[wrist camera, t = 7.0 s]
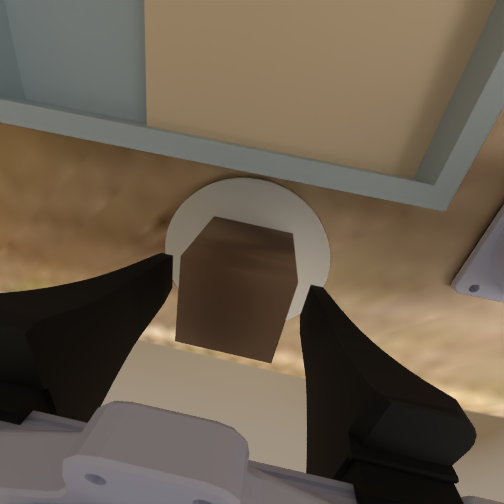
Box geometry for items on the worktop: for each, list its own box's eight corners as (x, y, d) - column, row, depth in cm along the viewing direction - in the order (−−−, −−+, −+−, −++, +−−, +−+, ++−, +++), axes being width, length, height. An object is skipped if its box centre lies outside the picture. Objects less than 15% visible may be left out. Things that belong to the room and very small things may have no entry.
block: (292, 233, 13) (298, 282, 9) (274, 297, 15) (271, 363, 11) (214, 215, 13) (180, 256, 9) (206, 281, 15) (175, 341, 11)
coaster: (353, 197, 13) (356, 199, 12) (303, 333, 17) (303, 340, 17) (170, 160, 13) (165, 161, 12) (167, 304, 17) (164, 309, 17)
